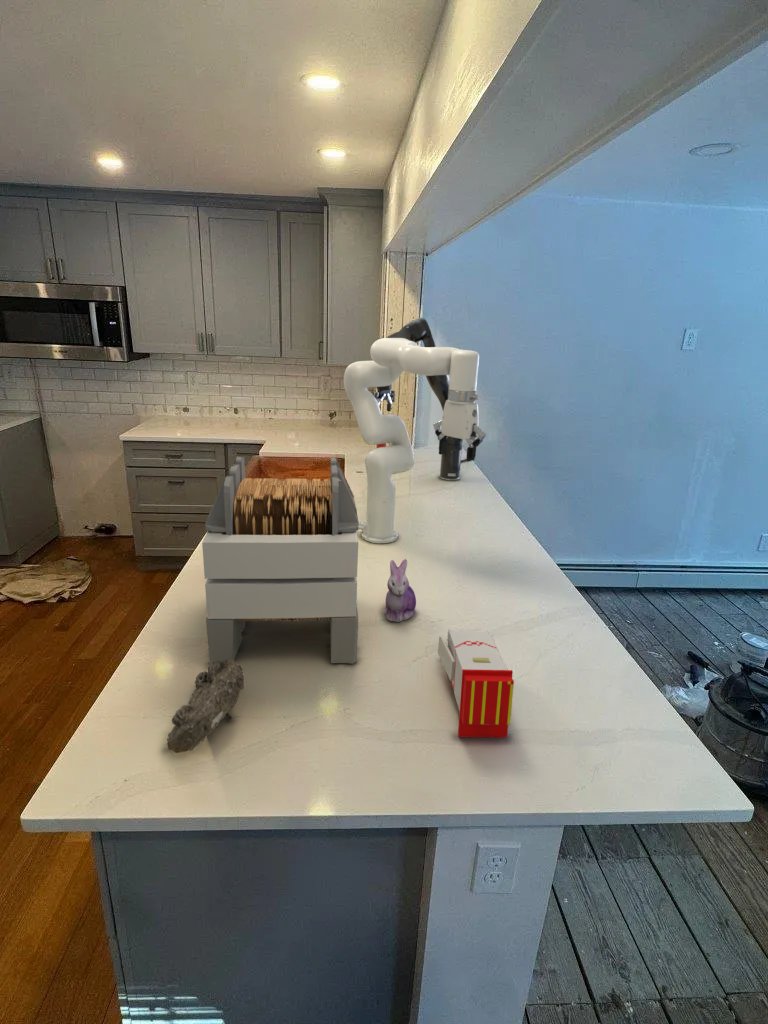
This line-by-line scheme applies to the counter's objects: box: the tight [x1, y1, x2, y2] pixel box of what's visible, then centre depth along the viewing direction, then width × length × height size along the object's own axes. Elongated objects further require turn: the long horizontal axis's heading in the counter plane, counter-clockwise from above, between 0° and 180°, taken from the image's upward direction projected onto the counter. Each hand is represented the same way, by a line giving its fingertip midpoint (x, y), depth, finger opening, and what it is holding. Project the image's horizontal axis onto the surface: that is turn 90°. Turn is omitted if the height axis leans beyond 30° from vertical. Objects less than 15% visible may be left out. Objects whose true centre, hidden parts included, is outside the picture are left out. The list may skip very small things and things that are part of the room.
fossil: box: [166, 659, 245, 754], centre depth 106 cm, size 22×10×15 cm
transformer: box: [201, 455, 360, 666], centre depth 133 cm, size 34×33×41 cm
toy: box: [437, 628, 515, 738], centre depth 117 cm, size 12×13×30 cm
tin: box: [376, 443, 387, 448], centre depth 295 cm, size 5×5×12 cm
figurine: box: [384, 558, 417, 623], centre depth 145 cm, size 9×10×15 cm
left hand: (456, 457), depth 162 cm, fingers open, 9 cm apart
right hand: (383, 411), depth 289 cm, fingers open, 8 cm apart
